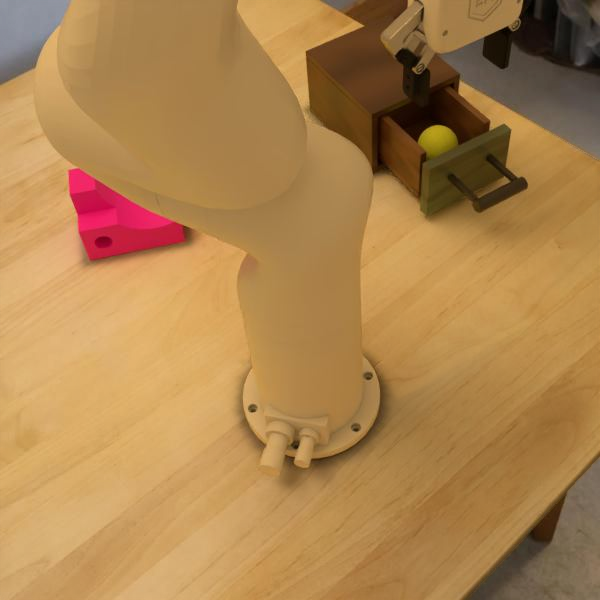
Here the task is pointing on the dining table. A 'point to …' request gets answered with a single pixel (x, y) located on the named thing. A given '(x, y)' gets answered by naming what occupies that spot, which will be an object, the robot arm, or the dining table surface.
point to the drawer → (448, 153)
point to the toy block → (116, 220)
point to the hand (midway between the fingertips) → (455, 80)
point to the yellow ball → (437, 141)
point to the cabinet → (363, 84)
